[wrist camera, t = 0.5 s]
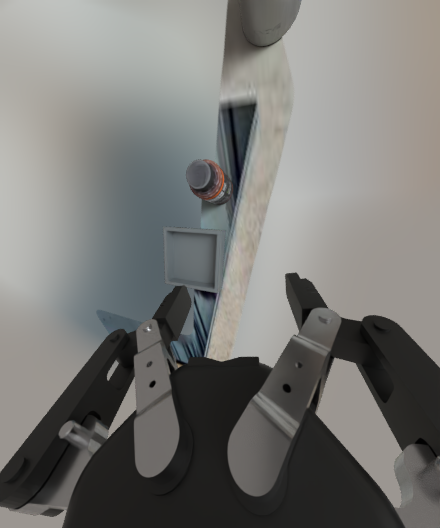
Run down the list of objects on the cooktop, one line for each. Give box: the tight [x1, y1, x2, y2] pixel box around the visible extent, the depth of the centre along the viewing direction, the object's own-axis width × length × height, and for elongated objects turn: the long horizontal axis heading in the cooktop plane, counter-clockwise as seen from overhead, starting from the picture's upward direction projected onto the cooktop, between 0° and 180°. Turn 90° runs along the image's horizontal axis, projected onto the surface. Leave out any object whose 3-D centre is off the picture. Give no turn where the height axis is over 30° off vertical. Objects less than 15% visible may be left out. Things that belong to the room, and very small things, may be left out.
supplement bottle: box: [186, 160, 233, 205], centre depth 29 cm, size 6×6×11 cm
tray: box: [163, 227, 226, 293], centre depth 37 cm, size 14×14×4 cm
